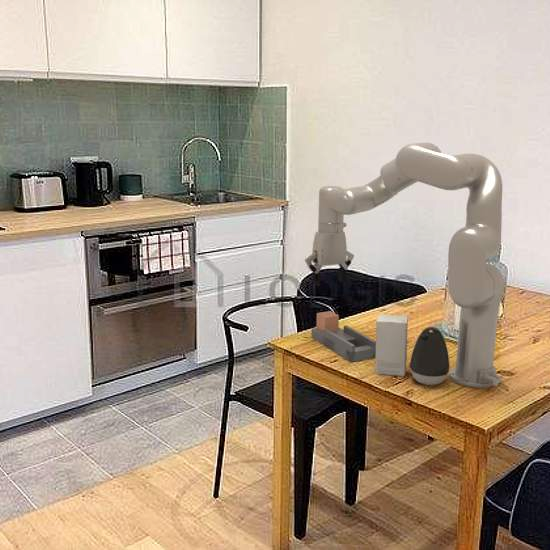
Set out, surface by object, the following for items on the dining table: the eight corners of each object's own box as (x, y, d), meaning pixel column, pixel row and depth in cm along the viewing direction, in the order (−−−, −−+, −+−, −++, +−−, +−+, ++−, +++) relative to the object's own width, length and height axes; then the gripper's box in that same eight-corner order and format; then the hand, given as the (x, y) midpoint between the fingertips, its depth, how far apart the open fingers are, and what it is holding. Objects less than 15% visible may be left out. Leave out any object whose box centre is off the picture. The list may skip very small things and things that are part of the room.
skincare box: (406, 368, 180) (409, 315, 176) (404, 377, 174) (408, 322, 170) (376, 365, 182) (379, 312, 178) (373, 374, 176) (376, 320, 172)
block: (338, 330, 201) (338, 315, 200) (324, 333, 199) (325, 317, 198) (329, 325, 205) (330, 311, 204) (316, 328, 203) (316, 313, 202)
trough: (375, 357, 187) (376, 341, 186) (351, 362, 184) (352, 346, 183) (334, 333, 207) (334, 318, 206) (311, 337, 204) (311, 322, 202)
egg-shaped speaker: (400, 381, 171) (404, 327, 168) (422, 370, 178) (426, 318, 175) (434, 393, 164) (438, 337, 161) (455, 381, 171) (459, 327, 168)
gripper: (348, 223, 201) (346, 277, 205) (299, 227, 193) (298, 283, 198) (361, 227, 195) (359, 283, 199) (311, 232, 187) (310, 289, 191)
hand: (329, 283), depth 198 cm, fingers open, 8 cm apart
